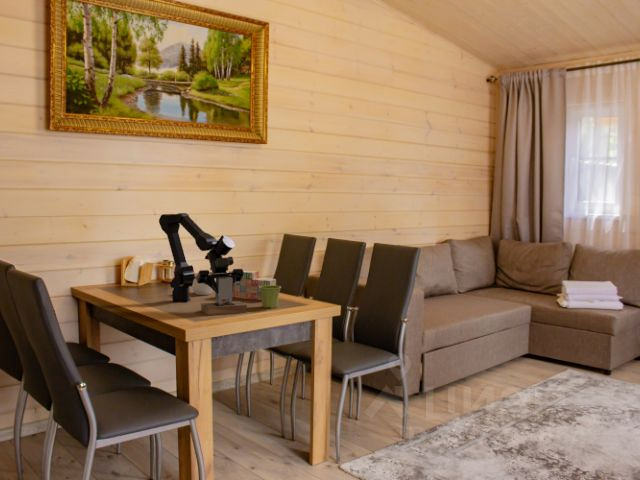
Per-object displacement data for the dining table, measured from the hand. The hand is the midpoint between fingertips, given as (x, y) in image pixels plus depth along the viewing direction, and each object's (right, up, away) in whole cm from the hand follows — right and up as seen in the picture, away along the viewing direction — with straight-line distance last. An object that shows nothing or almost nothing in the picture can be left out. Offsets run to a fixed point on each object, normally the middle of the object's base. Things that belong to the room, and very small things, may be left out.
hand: (224, 292), depth 259 cm
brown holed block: (-1, -8, +2) cm, 8 cm away
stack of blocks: (+7, -6, +35) cm, 36 cm away
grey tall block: (-1, -6, +2) cm, 7 cm away
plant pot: (+17, -7, +14) cm, 23 cm away
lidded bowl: (-17, -4, +43) cm, 46 cm away
